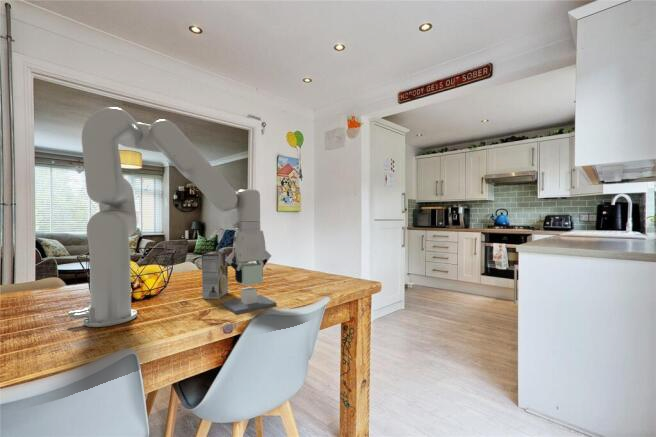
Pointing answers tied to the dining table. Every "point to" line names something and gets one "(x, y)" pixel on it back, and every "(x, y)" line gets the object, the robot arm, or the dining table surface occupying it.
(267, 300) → the base
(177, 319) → the dining table surface
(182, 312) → the dining table surface
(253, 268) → the square sleeve
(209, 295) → the coffee box
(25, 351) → the dining table surface
